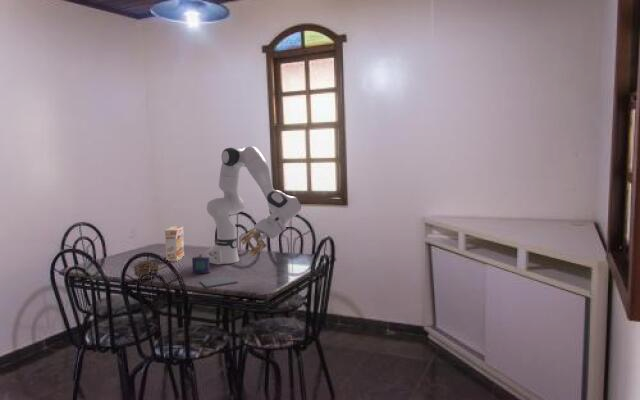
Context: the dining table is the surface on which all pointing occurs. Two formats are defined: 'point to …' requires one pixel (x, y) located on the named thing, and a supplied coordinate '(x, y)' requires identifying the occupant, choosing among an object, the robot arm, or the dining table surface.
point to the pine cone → (146, 268)
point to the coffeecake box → (174, 243)
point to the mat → (218, 281)
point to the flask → (200, 264)
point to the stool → (246, 239)
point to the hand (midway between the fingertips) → (255, 238)
